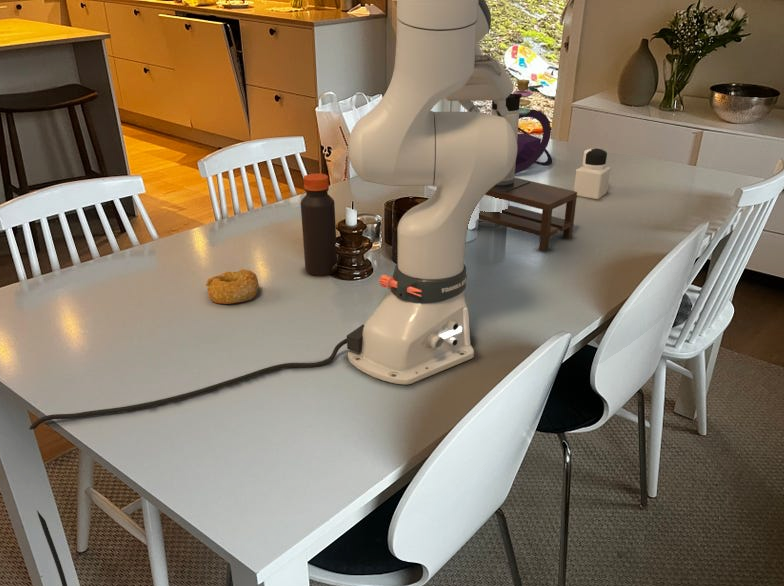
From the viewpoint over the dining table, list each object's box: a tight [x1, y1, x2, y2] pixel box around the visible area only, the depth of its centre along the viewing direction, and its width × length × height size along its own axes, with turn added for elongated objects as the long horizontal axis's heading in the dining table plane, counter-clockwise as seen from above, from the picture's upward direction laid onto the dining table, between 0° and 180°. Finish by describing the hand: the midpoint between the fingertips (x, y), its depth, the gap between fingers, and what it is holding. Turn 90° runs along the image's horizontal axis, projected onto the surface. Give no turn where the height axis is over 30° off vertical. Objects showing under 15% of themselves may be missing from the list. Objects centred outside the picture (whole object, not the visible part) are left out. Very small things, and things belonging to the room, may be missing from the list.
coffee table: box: [478, 176, 578, 253], centre depth 174 cm, size 12×22×11 cm, turn 50°
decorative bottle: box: [512, 78, 553, 174], centre depth 220 cm, size 22×21×25 cm
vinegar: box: [300, 172, 338, 277], centre depth 153 cm, size 7×7×20 cm
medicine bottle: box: [573, 148, 611, 200], centre depth 200 cm, size 7×7×12 cm
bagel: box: [205, 269, 259, 305], centre depth 145 cm, size 10×11×5 cm
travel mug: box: [490, 93, 523, 186], centre depth 170 cm, size 6×7×20 cm
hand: (489, 114), depth 158 cm, fingers open, 8 cm apart
